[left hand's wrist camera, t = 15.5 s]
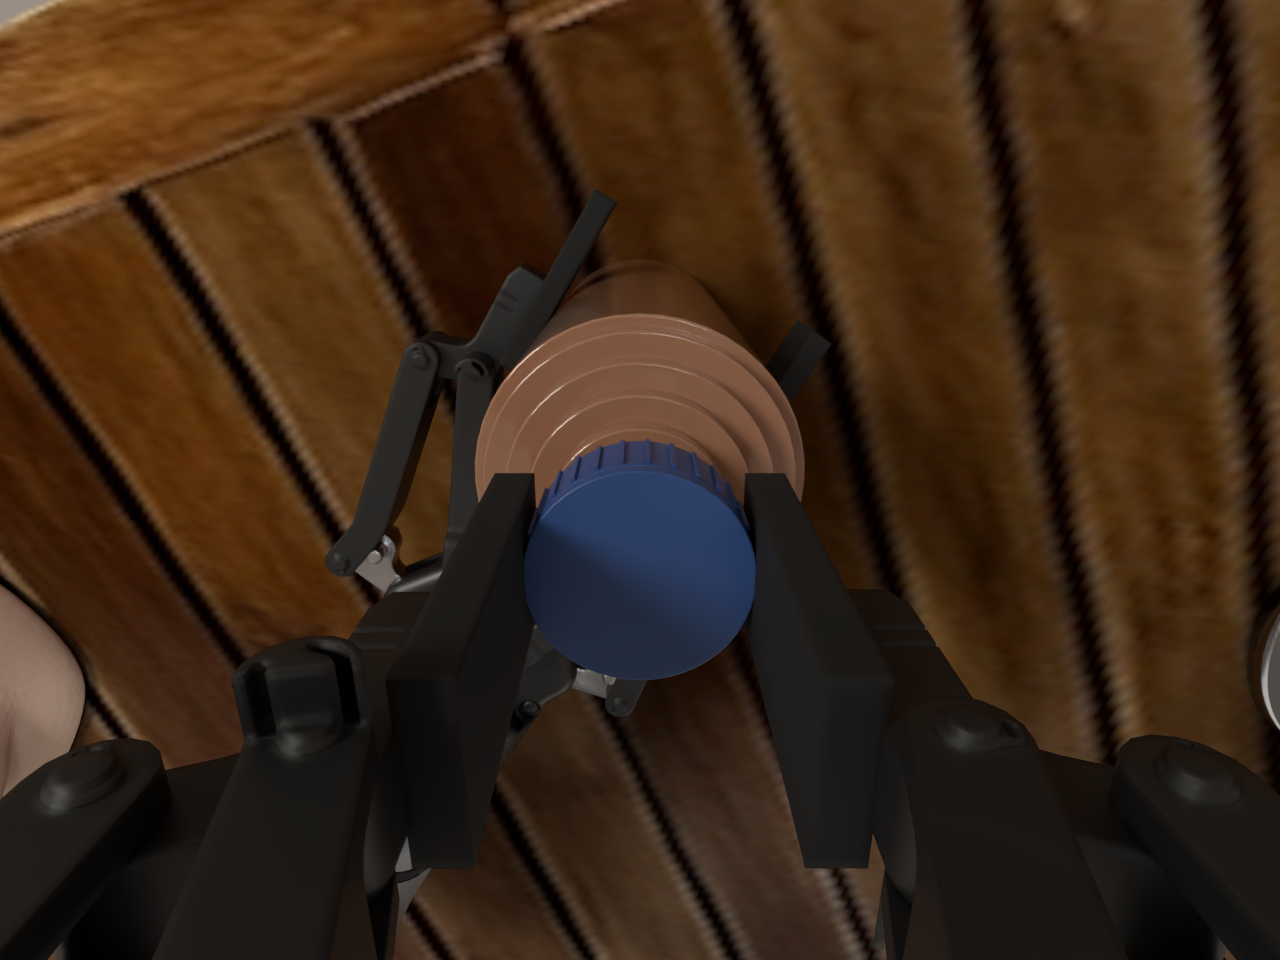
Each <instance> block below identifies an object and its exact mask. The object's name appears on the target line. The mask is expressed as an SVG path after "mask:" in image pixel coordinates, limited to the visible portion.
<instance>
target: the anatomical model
mask: <svg viewBox="0 0 1280 960" xmlns="http://www.w3.org/2000/svg"><path fill="white" fill-rule="evenodd" d="M84 701H85V683H84V678H83V675H82V671H81V669H80V667H79V665H78V662H77V660H76V659H75V657H74V655H73V654H72V652H71V651H70V649H69V648H68V647H67V646H66V644H65V643H64V642H63V641H62V639H61V638H60V637H59V636H58V635H57V634H56V632H55V631H54V630H53V629H52V628H51V627H50V626H49V625H48V624H47V623H46V622H45V621H44V620H43V619H42V618H41V617H40V616H39V615H37V614H36V613H35V612H34V611H33V610H32V609H31V608H30V607H29V606H28V605H26V604H25V603H24V602H23V601H22V600H20V599H19V598H18V597H17V596H16V595H14V594H13V593H12V592H10V591H9V590H8V589H6V588H5V587H4V586H2V585H1V584H0V799H1V798H2V797H3V796H5V795H6V794H7V793H8V792H9V791H10V790H11V789H12V788H14V787H15V786H16V785H17V784H18V783H19V782H20V781H21V780H23V779H24V778H26V777H27V776H28V775H30V774H31V773H33V772H34V771H35V770H37V769H38V768H39V767H41V766H42V765H44V764H45V763H47V762H49V761H51V760H53V759H55V758H57V757H59V756H61V755H63V754H65V753H67V752H69V750H70V748H71V745H72V743H73V740H74V738H75V735H76V732H77V729H78V726H79V723H80V719H81V716H82V712H83V707H84Z"/></svg>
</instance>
